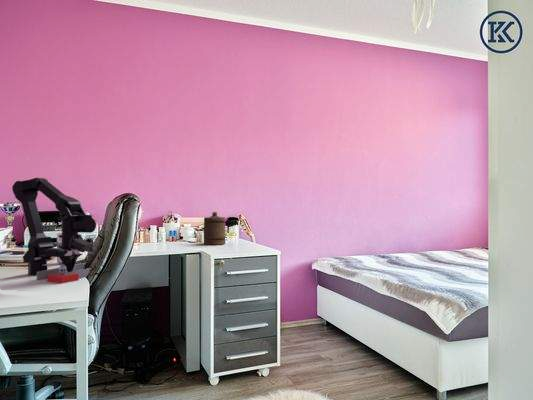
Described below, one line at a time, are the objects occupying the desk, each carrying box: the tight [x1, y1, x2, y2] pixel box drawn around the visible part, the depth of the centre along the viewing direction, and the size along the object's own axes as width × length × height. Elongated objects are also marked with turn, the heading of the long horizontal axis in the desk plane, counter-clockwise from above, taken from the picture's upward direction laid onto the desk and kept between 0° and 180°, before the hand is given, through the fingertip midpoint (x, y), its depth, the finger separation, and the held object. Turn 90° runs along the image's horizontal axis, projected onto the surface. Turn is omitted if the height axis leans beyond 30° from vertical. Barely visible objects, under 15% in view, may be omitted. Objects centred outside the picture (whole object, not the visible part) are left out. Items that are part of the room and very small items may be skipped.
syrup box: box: [56, 231, 63, 264], centre depth 195 cm, size 6×6×14 cm
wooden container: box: [203, 211, 226, 246], centre depth 281 cm, size 15×15×22 cm
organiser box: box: [36, 261, 91, 281], centre depth 160 cm, size 13×25×3 cm, turn 162°
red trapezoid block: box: [46, 264, 80, 284], centre depth 148 cm, size 8×7×6 cm
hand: (70, 272), depth 157 cm, fingers closed
